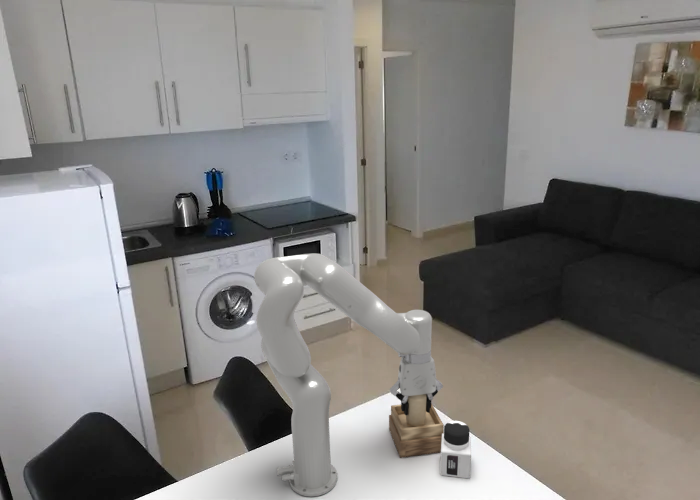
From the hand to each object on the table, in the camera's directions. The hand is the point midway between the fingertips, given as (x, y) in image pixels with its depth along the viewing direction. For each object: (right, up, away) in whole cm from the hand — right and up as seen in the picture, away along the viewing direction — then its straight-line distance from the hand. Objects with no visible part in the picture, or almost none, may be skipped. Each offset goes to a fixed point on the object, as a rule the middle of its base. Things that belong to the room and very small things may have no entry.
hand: (416, 410), depth 149 cm
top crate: (0, -5, +2) cm, 5 cm away
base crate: (0, -10, +3) cm, 10 cm away
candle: (0, -3, +1) cm, 4 cm away
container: (+10, -13, -8) cm, 18 cm away
